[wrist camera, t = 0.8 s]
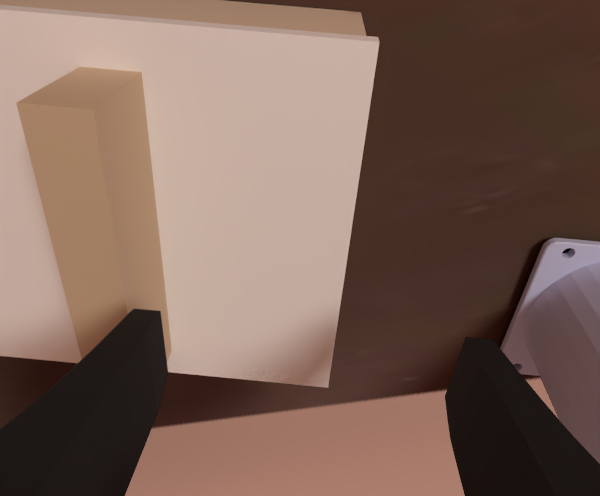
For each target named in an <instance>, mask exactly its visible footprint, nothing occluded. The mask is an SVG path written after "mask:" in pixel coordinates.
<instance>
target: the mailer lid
mask: <svg viewBox="0 0 600 496" xmlns="http://www.w3.org/2000/svg"><path fill="white" fill-rule="evenodd" d="M378 48H379V39H378V37H371V36H359V35H347V34H336V33H324V32H312V31H301V30H289V29H277V28H266V27H254V26H243V25H231V24H219V23H208V22H196V21H184V20H173V19H161V18H149V17H138V16H126V15H114V14H103V13H91V12H80V11H68V10H56V9H45V8H33V7H21V6H10V5H0V356H8V357H18V358H28V359H39V360H49V361H59V362H70V363H79V362H80V361H81V360H82V359H83V358H84V357H85V356H86V355H87V354H88V353H89V352H90V351H91V350H92V349H93V348H94V347H95V346H96V345H97V344H98V343H99V342H100V341H101V340H102V339H103V338H104V337H105V336H106V335H107V334H108V333H109V332H110V331H111V330H112V329H113V328H114V327H115V326H116V325H117V324H118V323H119V322H120V321H121V320H122V319H123V318H124V317H125V316H126V315H127V314H128V313H129V312H131V311H132V310H133V309H145V310H156V311H161V319H162V327H163V335H164V343H165V351H166V359H167V367H168V372H172V373H183V374H193V375H203V376H214V377H224V378H234V379H244V380H255V381H265V382H275V383H286V384H296V385H306V386H316V387H327V388H328V384H329V377H330V370H331V364H332V357H333V350H334V343H335V337H336V330H337V323H338V317H339V310H340V303H341V296H342V290H343V283H344V276H345V270H346V263H347V256H348V249H349V243H350V236H351V229H352V223H353V216H354V209H355V203H356V196H357V189H358V182H359V176H360V169H361V162H362V156H363V149H364V142H365V135H366V129H367V122H368V115H369V109H370V102H371V95H372V88H373V82H374V75H375V68H376V62H377V55H378Z"/></svg>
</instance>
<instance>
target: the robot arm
mask: <svg viewBox="0 0 600 496" xmlns="http://www.w3.org/2000/svg"><path fill="white" fill-rule="evenodd" d="M567 248H571V249H570V251H568V252H567V253H562V252H563V251H564V250H565V249H567ZM514 364H516V365H514ZM521 374H525V375H536V376H540V377H541V380H542V382H543V384H544V386H545V389H546V391H547V393H548V395H549V398H550V400H551V402H552V405H553V407H554V409H555V411H556V414H557V416H558V418H559V419H558V418H557V417H556V416H555V415H554V414H553V412H552V411H551V410H550V409H549V408H548V407H547V405H546V404H545V403H544V402H543V401H542V400H541V398H540V397H539V396H538V395H537V394H536V392H535V391H534V390H533V389H532V388H531V386H530V385H529V384H528V383H527V381H526V380H525V379H524V378H523V376H522V375H521ZM167 375H168V367H167V359H166V351H165V343H164V335H163V327H162V319H161V311H156V310H145V309H133V310H132V311H131V312H129V313H128V314H127V315H126V316H125V317H124V318H123V319H122V320H121V321H120V322H119V323H118V324H117V325H116V326H115V327H114V328H113V329H112V330H111V331H110V332H109V333H108V334H107V335H106V336H105V337H104V338H103V339H102V340H101V341H100V342H99V343H98V344H97V345H96V346H95V347H94V348H93V349H92V350H91V351H90V352H89V353H88V354H87V355H86V356H85V357H84V358H83V359H82V360H81V361H80V362H79V363H77V364H76V365H75V366H74V367H73V368H72V369H71V370H70V371H69V372H68V373H67V374H66V375H65V376H64V377H62V378H61V379H60V380H59V381H58V382H57V383H56V384H54V385H53V386H52V387H51V388H50V389H49V390H47V391H46V392H45V393H44V394H43V395H42V396H40V397H39V398H38V399H37V400H36V401H35V402H33V403H32V404H31V405H30V406H29V407H28V408H26V409H25V410H24V411H23V412H22V413H20V414H19V415H18V416H17V417H15V418H14V419H13V420H12V421H10V422H9V423H8V424H6V425H5V426H4V427H3V428H1V429H0V496H125V493H126V491H127V488H128V486H129V483H130V481H131V478H132V476H133V473H134V471H135V468H136V466H137V463H138V461H139V458H140V456H141V453H142V450H143V448H144V446H145V443H146V441H147V438H148V436H149V433H150V431H151V428H152V426H153V423H154V420H155V418H156V415H157V412H158V409H159V405H160V401H161V398H162V394H163V390H164V386H165V382H166V379H167ZM445 400H446V409H447V417H448V424H449V432H450V438H451V443H452V447H453V451H454V455H455V459H456V463H457V467H458V471H459V475H460V479H461V483H462V486H463V490H464V494H465V496H600V242H597V241H586V240H575V239H564V238H552V239H550V240H548V241H546V242H545V243H544V244H543V246H542V248H541V250H540V253H539V255H538V258H537V260H536V262H535V265H534V267H533V270H532V272H531V275H530V277H529V279H528V282H527V284H526V287H525V289H524V291H523V294H522V296H521V299H520V301H519V304H518V306H517V308H516V311H515V313H514V316H513V318H512V321H511V323H510V325H509V328H508V330H507V333H506V335H505V338H504V340H503V342H502V345H501V347H500V348H499V347H498V345H497V344H496V343H495V342H494V340H493V339H481V338H470V337H466V338H465V341H464V344H463V347H462V350H461V352H460V355H459V358H458V361H457V364H456V367H455V369H454V372H453V375H452V378H451V381H450V384H449V386H448V389H447V392H446V395H445ZM559 420H560V421H559Z"/></svg>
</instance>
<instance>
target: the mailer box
mask: <svg viewBox="0 0 600 496" xmlns="http://www.w3.org/2000/svg"><path fill="white" fill-rule="evenodd" d="M0 5H10V6H21V7H33V8H45V9H56V10H68V11H80V12H91V13H103V14H114V15H126V16H138V17H149V18H161V19H173V20H184V21H196V22H208V23H219V24H231V25H243V26H254V27H266V28H277V29H289V30H301V31H312V32H324V33H336V34H347V35H359V36H366V32H365V28H364V24H363V20H362V16H361V12H352V11H341V10H329V9H317V8H305V7H294V6H282V5H270V4H258V3H247V2H235V1H223V0H0Z"/></svg>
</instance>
